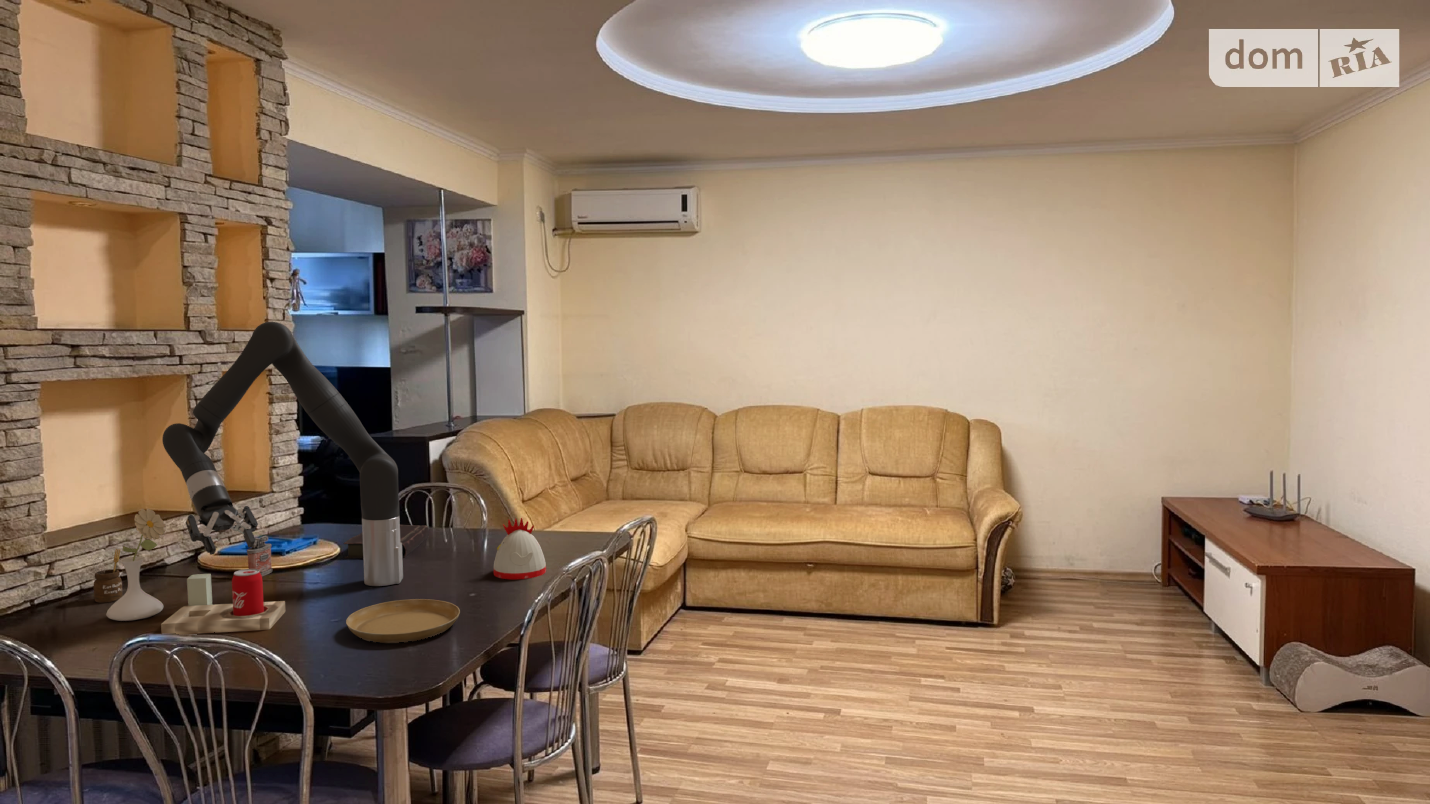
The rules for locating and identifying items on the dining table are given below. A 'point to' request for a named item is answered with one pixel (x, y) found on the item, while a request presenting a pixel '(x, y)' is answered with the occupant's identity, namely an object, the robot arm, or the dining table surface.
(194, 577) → the square peg
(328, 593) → the dining table surface
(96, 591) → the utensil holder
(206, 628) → the socket board
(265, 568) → the lighter
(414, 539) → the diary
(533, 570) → the kitchen timer
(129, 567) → the flower in vase
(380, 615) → the plant saucer
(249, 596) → the beverage can
